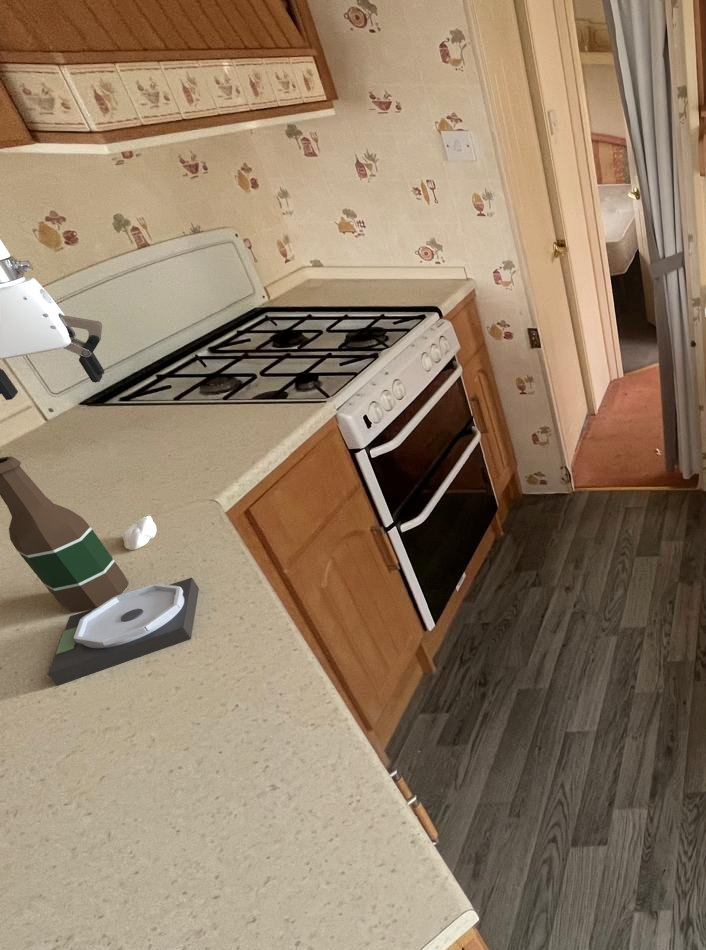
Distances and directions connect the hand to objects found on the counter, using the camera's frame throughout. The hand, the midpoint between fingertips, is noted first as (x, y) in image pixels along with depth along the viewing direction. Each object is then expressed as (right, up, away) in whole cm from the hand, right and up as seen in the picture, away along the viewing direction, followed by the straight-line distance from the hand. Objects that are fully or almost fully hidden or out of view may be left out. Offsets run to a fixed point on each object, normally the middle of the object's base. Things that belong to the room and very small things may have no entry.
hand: (56, 387), depth 102 cm
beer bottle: (+5, -32, +1) cm, 32 cm away
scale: (+18, -36, -6) cm, 40 cm away
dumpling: (+1, -25, +13) cm, 28 cm away
